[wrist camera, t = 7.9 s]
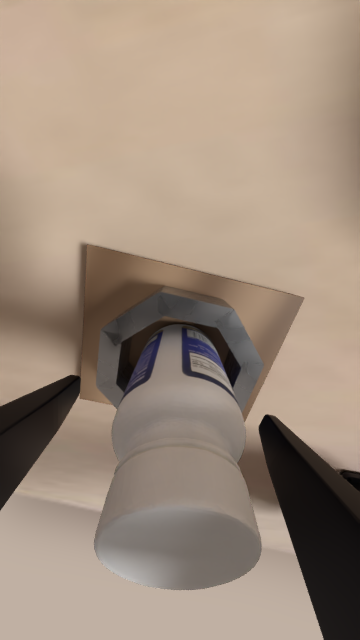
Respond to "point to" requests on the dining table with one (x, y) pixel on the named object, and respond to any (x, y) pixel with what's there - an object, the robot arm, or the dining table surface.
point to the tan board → (149, 276)
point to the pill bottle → (178, 472)
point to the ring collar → (185, 306)
